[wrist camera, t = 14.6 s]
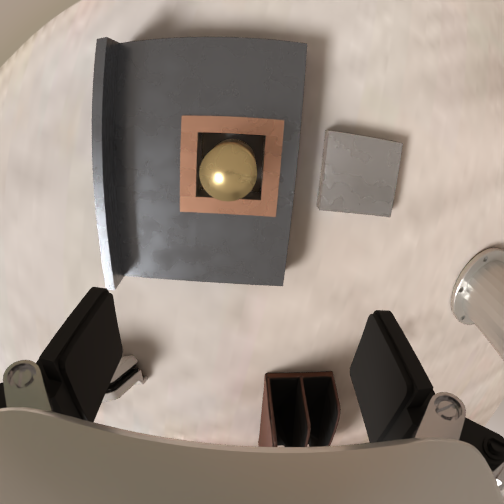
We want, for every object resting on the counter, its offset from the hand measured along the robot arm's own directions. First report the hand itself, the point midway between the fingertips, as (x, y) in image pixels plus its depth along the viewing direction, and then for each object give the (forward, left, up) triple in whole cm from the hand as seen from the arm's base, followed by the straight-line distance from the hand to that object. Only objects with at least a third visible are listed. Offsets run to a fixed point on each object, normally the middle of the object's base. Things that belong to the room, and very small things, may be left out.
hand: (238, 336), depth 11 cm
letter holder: (-10, +35, -23) cm, 43 cm away
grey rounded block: (+22, +28, -23) cm, 42 cm away
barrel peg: (+1, -3, -23) cm, 23 cm away
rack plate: (+5, -3, -23) cm, 23 cm away
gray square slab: (-11, -3, -23) cm, 26 cm away
